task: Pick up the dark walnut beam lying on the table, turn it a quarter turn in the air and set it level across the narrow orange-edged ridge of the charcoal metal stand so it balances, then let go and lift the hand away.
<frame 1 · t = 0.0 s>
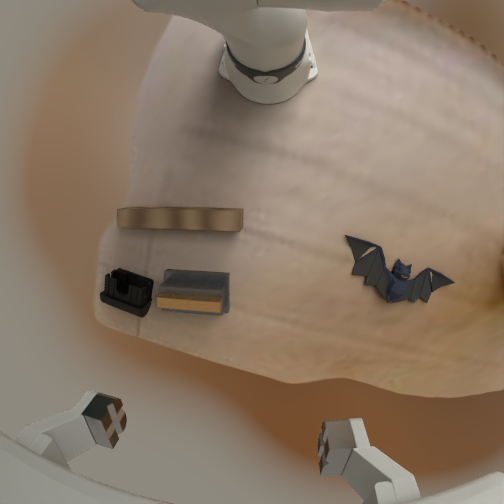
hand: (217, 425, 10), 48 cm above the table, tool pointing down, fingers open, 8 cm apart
fulcrum stand: (198, 289, 61), on the table
decorative bat: (395, 277, 58), on the table
end cap: (134, 287, 62), on the table
walnut beam: (182, 215, 58), on the table
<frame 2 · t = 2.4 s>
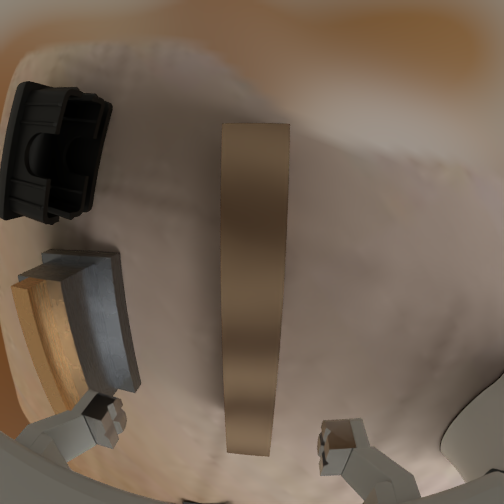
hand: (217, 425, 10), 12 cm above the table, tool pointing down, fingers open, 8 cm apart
fulcrum stand: (93, 319, 24), on the table
end cap: (72, 152, 21), on the table
walnut beam: (258, 303, 22), on the table
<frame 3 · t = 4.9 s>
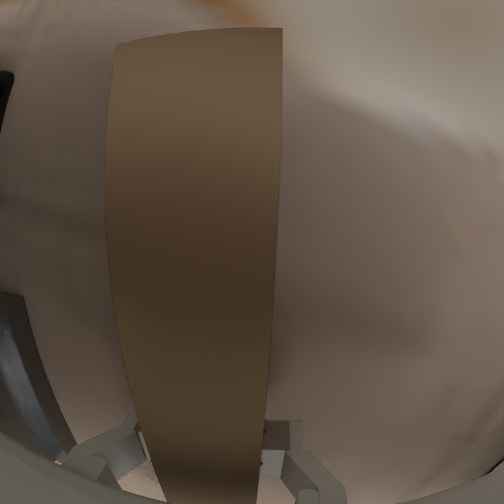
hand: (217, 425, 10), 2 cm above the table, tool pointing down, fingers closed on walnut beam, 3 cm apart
fulcrum stand: (14, 376, 14), on the table
walnut beam: (225, 389, 12), on the table, touching gripper
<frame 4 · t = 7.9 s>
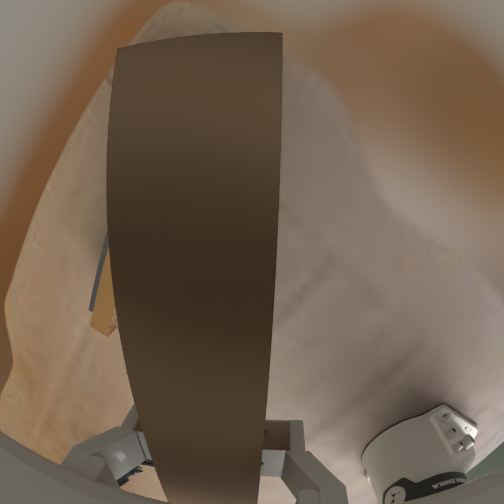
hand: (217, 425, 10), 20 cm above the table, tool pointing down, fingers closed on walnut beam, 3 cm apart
fulcrum stand: (149, 252, 30), on the table
decorative bat: (122, 457, 41), on the table
walnut beam: (226, 390, 12), point 18 cm above the table, touching gripper
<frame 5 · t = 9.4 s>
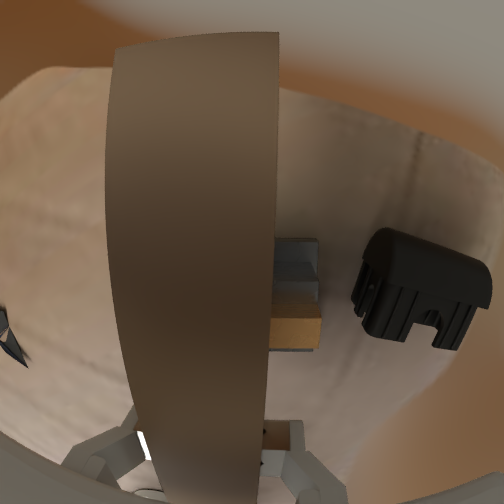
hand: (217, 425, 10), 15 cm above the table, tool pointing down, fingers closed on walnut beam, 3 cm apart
fulcrum stand: (234, 285, 25), on the table
end cap: (406, 274, 24), on the table
walnut beam: (225, 390, 12), point 13 cm above the table, touching gripper
when the fingers open (11 cm above the table, at t = 10.9 s): walnut beam stays where it is, resting on fulcrum stand.
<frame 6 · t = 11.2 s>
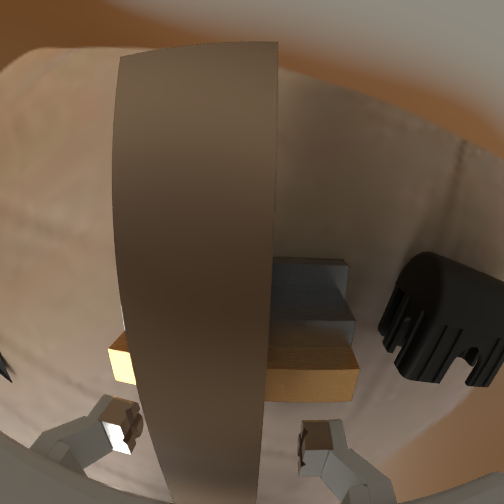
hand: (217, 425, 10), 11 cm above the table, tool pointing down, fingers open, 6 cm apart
fulcrum stand: (244, 311, 21), on the table
end cap: (438, 300, 20), on the table
walnut beam: (227, 384, 13), point 8 cm above the table, touching fulcrum stand
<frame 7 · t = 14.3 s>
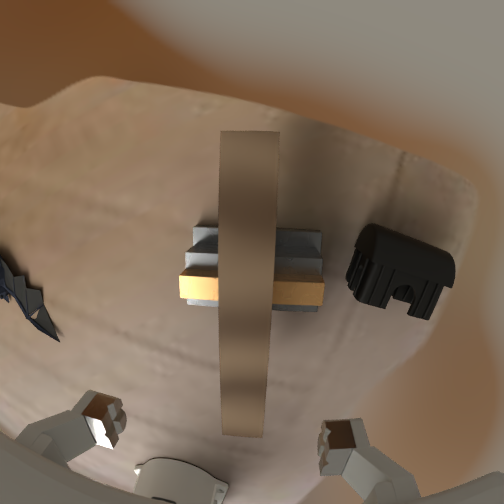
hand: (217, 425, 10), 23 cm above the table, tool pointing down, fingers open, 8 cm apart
fulcrum stand: (256, 264, 32), on the table
decorative bat: (6, 275, 37), on the table
end cap: (388, 261, 31), on the table
walnut beam: (250, 292, 24), point 8 cm above the table, touching fulcrum stand
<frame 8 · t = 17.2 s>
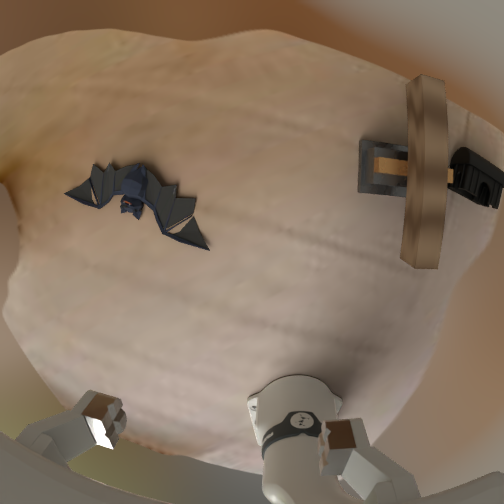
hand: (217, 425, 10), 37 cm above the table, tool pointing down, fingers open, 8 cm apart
fulcrum stand: (396, 170, 42), on the table
decorative bat: (139, 192, 46), on the table
end cap: (466, 177, 41), on the table
walnut beam: (418, 170, 34), point 8 cm above the table, touching fulcrum stand
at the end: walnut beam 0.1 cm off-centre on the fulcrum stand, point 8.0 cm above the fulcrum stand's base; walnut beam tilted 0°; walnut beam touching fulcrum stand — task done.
